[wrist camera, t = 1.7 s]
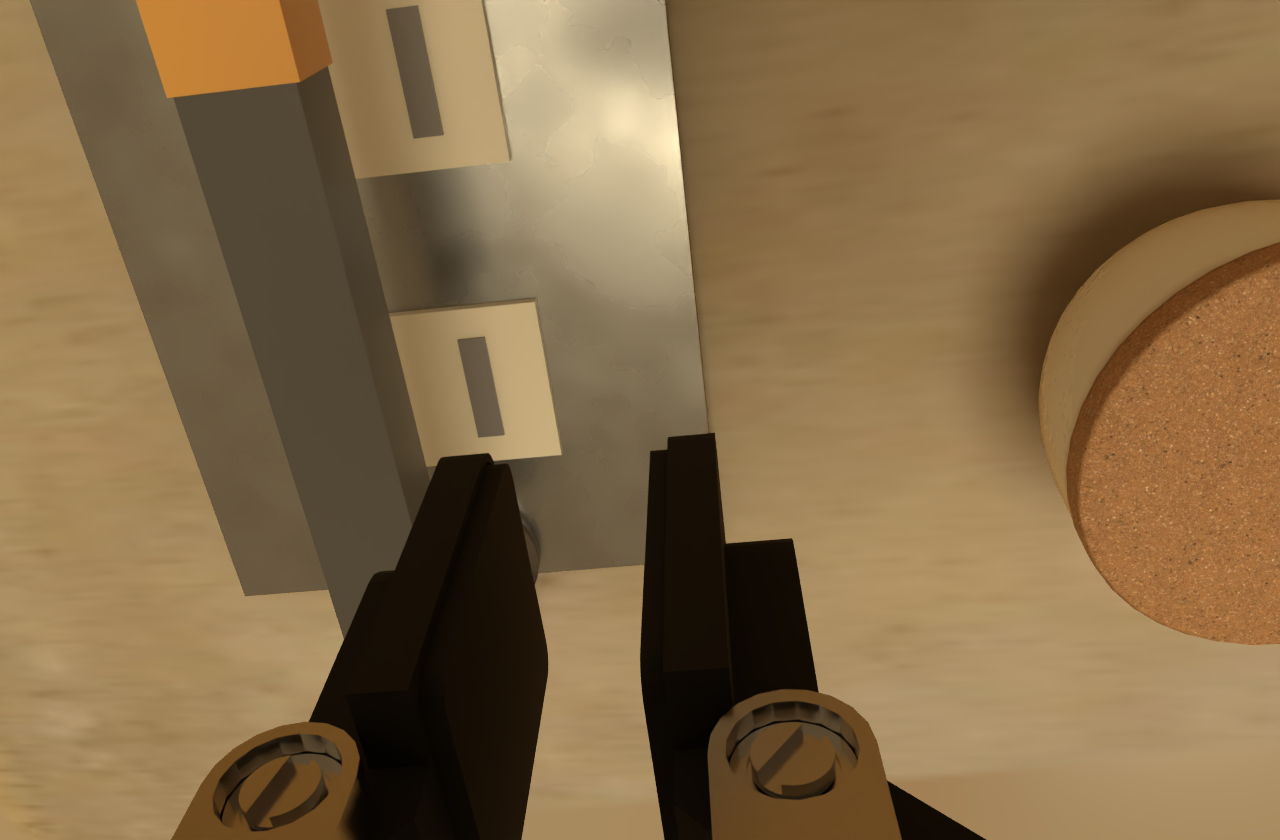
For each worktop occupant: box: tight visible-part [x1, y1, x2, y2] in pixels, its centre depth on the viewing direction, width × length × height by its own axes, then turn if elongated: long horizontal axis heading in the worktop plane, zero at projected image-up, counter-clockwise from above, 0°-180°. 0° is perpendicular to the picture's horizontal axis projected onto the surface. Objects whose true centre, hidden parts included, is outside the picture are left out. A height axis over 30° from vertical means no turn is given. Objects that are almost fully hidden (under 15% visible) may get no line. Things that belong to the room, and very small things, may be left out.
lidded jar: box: [1038, 200, 1280, 645], centre depth 27 cm, size 11×11×9 cm
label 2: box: [389, 298, 563, 467], centre depth 31 cm, size 5×7×1 cm
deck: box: [30, 0, 709, 596], centre depth 28 cm, size 21×16×7 cm
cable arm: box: [136, 0, 430, 639], centre depth 24 cm, size 20×4×2 cm, turn 7°
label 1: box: [318, 0, 511, 179], centre depth 27 cm, size 5×7×1 cm
